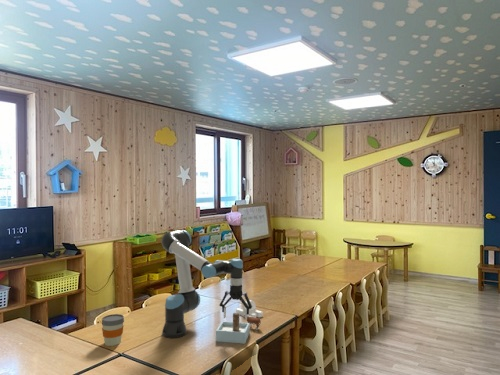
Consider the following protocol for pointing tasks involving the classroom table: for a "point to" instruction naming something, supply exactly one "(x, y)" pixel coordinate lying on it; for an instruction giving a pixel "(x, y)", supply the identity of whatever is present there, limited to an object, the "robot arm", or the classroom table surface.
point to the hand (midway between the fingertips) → (235, 318)
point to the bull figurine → (253, 321)
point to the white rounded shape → (250, 310)
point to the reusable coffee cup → (112, 329)
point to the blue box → (232, 332)
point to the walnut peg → (236, 322)
